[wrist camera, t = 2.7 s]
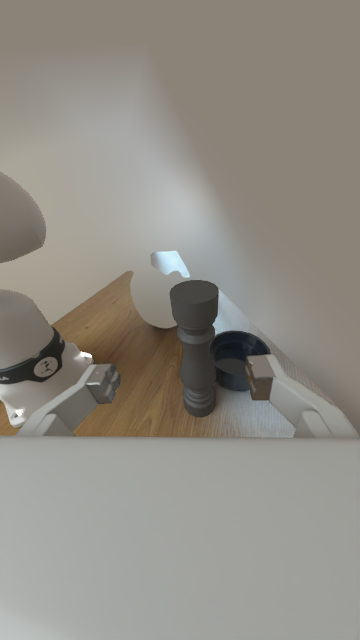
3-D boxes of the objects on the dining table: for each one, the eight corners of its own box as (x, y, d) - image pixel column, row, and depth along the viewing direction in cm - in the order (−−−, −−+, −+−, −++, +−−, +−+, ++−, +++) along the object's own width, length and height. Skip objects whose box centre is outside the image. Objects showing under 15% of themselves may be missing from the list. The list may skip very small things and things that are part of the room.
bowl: (198, 377, 40) (197, 361, 37) (218, 340, 49) (219, 325, 45) (259, 403, 34) (265, 387, 31) (270, 356, 43) (275, 340, 39)
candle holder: (211, 385, 38) (214, 276, 23) (217, 415, 33) (227, 301, 18) (182, 388, 38) (167, 281, 23) (184, 418, 33) (167, 307, 18)
